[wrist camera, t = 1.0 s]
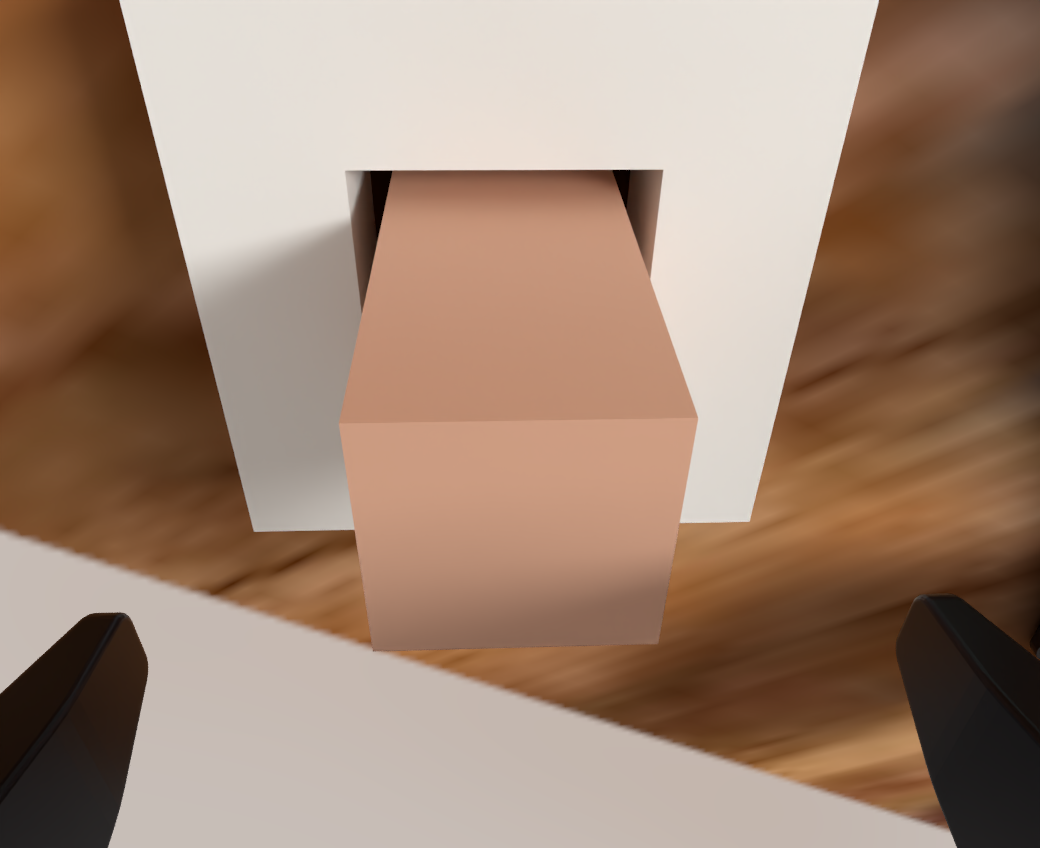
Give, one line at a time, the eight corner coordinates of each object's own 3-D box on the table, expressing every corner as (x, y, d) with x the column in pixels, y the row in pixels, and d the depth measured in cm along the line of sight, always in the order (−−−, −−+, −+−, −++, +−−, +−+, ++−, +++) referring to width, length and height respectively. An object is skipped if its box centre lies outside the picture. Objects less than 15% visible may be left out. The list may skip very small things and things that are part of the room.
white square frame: (818, -60, 14) (885, -28, 12) (718, 438, 21) (749, 521, 19) (173, -64, 14) (111, -32, 12) (279, 445, 21) (254, 532, 18)
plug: (602, 143, 17) (698, 417, 9) (589, 318, 19) (658, 643, 12) (398, 143, 16) (339, 424, 9) (412, 320, 19) (372, 651, 12)
